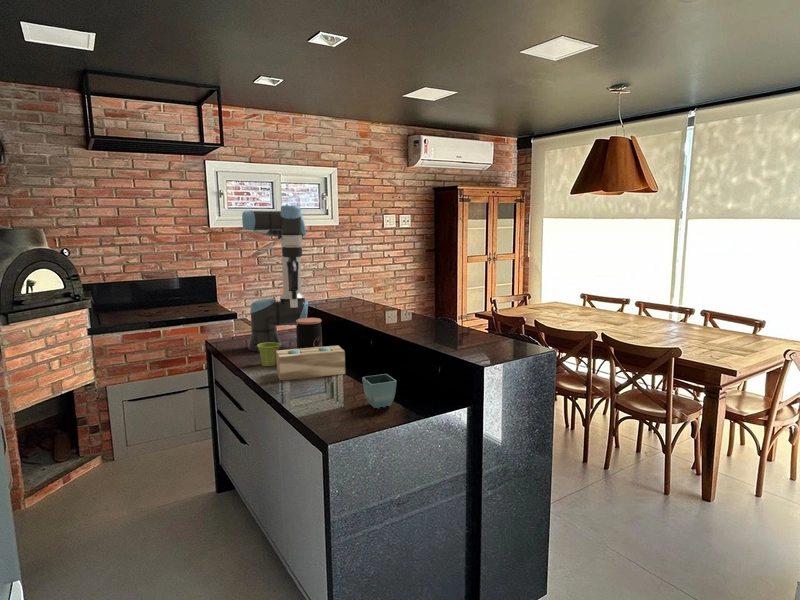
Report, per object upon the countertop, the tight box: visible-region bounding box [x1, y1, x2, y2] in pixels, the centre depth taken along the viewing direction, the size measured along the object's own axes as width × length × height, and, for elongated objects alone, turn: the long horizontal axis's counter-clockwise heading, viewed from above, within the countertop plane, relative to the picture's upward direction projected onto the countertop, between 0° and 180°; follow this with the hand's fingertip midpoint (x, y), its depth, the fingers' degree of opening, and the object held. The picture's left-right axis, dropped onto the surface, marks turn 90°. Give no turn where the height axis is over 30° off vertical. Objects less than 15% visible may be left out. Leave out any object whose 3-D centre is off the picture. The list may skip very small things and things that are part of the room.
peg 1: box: [290, 350, 300, 354], centre depth 199 cm, size 4×4×8 cm
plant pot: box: [257, 342, 280, 367], centre depth 214 cm, size 9×9×9 cm
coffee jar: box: [295, 317, 323, 349], centre depth 219 cm, size 11×11×18 cm
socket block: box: [276, 345, 346, 381], centre depth 201 cm, size 11×25×9 cm, turn 110°
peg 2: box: [320, 346, 331, 352], centre depth 203 cm, size 4×4×8 cm
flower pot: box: [361, 373, 397, 409], centre depth 164 cm, size 9×9×9 cm
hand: (293, 307), depth 200 cm, fingers closed
